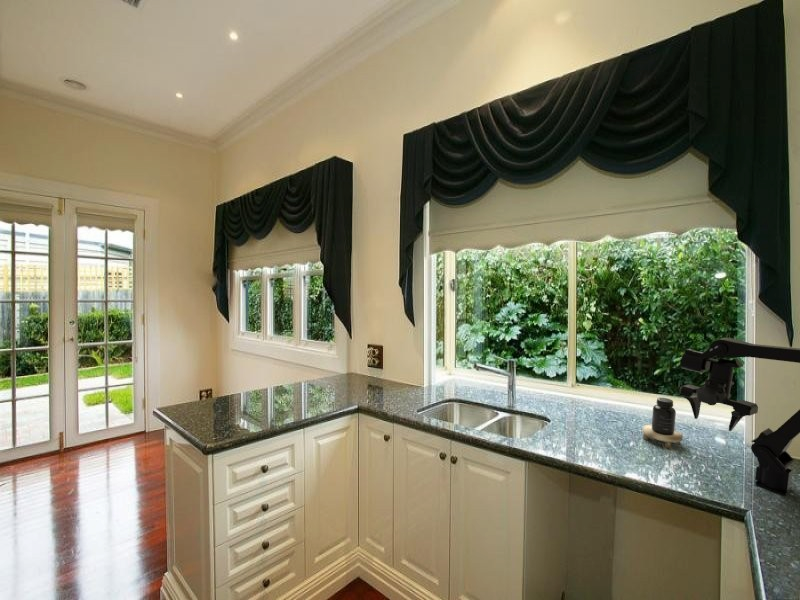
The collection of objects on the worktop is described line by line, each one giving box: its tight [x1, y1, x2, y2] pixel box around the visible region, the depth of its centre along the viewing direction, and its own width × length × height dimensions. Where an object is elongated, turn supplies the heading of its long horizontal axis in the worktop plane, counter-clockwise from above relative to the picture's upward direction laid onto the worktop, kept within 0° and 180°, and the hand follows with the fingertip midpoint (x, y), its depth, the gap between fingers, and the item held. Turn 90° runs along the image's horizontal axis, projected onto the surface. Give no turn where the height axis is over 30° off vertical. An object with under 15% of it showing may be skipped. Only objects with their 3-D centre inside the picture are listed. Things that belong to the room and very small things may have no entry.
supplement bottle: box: [651, 397, 677, 435], centre depth 137 cm, size 7×7×12 cm
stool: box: [641, 424, 684, 449], centre depth 138 cm, size 12×12×4 cm
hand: (712, 424), depth 122 cm, fingers open, 9 cm apart
